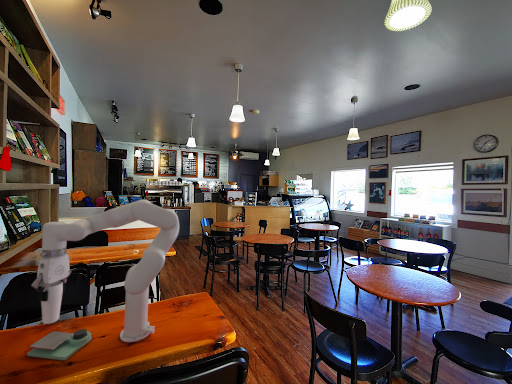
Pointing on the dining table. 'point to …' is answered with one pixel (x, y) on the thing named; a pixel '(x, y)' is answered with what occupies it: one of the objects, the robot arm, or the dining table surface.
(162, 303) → the dining table surface
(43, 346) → the scale plate
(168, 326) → the dining table surface
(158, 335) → the dining table surface
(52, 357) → the scale
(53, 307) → the drinking glass
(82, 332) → the tare button
